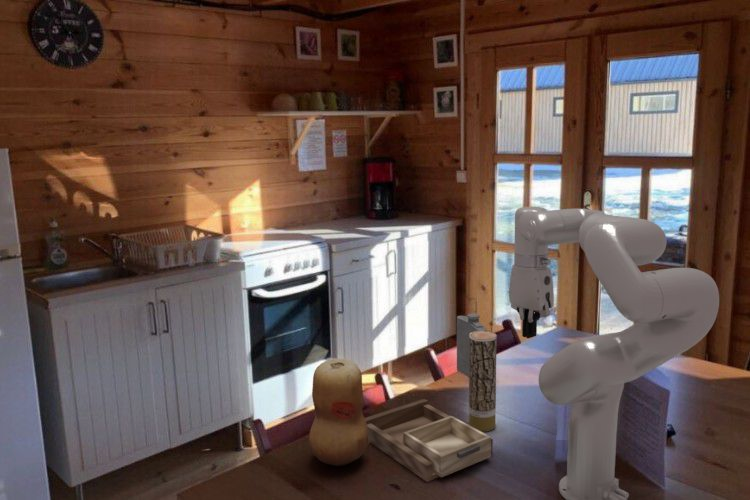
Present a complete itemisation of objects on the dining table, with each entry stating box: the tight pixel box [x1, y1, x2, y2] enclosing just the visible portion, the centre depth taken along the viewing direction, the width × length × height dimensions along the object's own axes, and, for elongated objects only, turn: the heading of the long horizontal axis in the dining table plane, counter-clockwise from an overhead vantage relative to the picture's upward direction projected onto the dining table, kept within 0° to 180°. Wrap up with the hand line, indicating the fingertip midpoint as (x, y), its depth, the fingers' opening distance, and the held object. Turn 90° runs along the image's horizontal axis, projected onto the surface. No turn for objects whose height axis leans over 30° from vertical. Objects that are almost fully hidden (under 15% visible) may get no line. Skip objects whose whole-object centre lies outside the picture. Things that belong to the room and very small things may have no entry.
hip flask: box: [456, 313, 488, 378], centre depth 202 cm, size 16×4×20 cm, turn 20°
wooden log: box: [468, 330, 498, 433], centre depth 168 cm, size 7×7×25 cm
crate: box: [403, 415, 492, 478], centre depth 154 cm, size 15×15×5 cm
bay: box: [364, 398, 494, 483], centre depth 161 cm, size 26×20×5 cm
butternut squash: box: [308, 357, 370, 467], centre depth 153 cm, size 14×13×25 cm
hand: (529, 336), depth 155 cm, fingers closed
